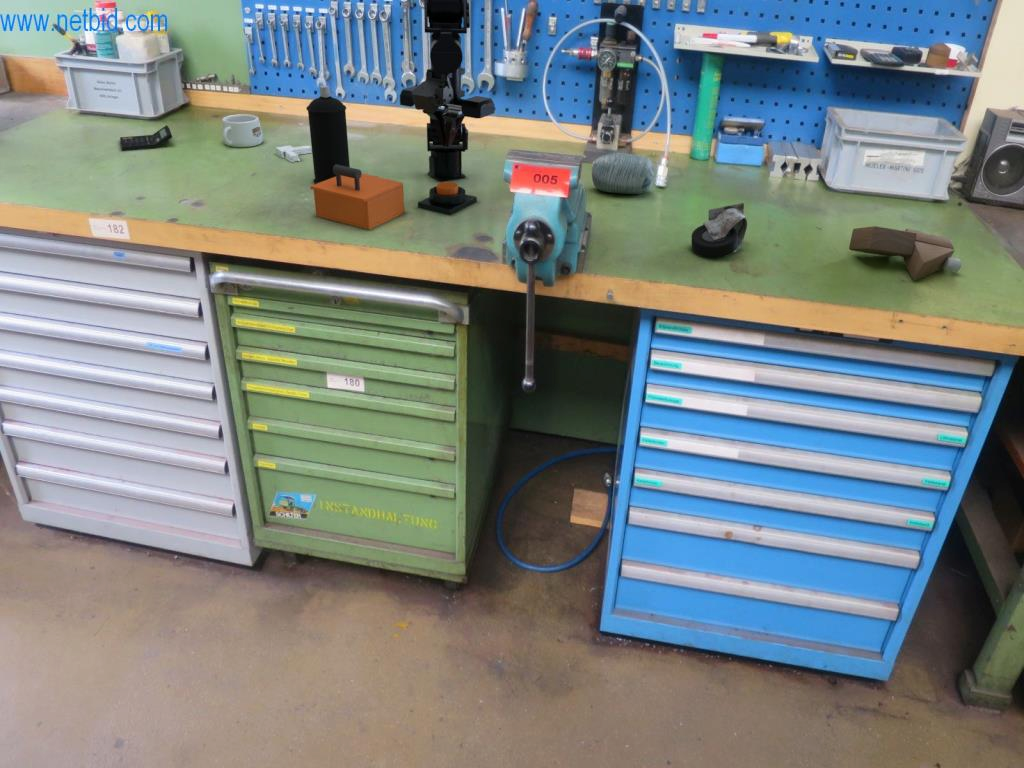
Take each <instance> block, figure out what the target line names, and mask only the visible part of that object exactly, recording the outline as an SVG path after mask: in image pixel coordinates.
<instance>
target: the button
mask: <svg viewBox="0 0 1024 768" xmlns="http://www.w3.org/2000/svg"><path fill="white" fill-rule="evenodd" d="M436 186H437V193H438V194H442V195H454V194H457V193H458V187H459V184H457V183H456V182H452V181H441V182H439V183H437V184H436Z"/></svg>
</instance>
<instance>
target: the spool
mask: <svg viewBox="0 0 1024 768" xmlns="http://www.w3.org/2000/svg"><path fill="white" fill-rule="evenodd" d="M591 180H592V183H593V186H594V187H595V188H596V189H597V190H599V191H601V192H606V193H613V194H624V195H625V194H626V195H627V194H629V195H635V194H636V195H640V194H645V193H647V192H649V190H651V188H652V186H653V185H654V184H653V183H654V180H655V166H654V163H653V161H652V160H651V159H650V158H648V157H646V156H643V155H638V154H633V153H626V152H612V153H611V152H609V153H605V154H603V155H600V156H598V157H597V158H596V159H595V160H594V161H593V163H592V166H591Z"/></svg>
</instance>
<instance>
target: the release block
mask: <svg viewBox="0 0 1024 768" xmlns="http://www.w3.org/2000/svg"><path fill="white" fill-rule="evenodd" d="M477 201H478V197H477V196H476V195H472V194H467V193H466V189H465V188H464V187H462V186H458V193H457V194H454V195H442V194H438V193H437V185H436V186H433V187H431V188H430V189H429V191H428V197H426V198H424V199H422V200H420V201H417V208H418V209H421V210H425V211H430V212H434V213H438V214H443V215H447V216H452V215H454V214H457V213H458V212H460V211H462V210H464V209H466V208H468V207H470V206H472V205H474V204H476V203H477Z"/></svg>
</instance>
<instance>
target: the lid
mask: <svg viewBox="0 0 1024 768" xmlns="http://www.w3.org/2000/svg"><path fill="white" fill-rule="evenodd" d="M333 172H334V174H336V177H333V178H330V179H328V180H325V181H322V182H320V183H317V184H315V183H314V184H312V185H310V186H309V189H310V190H313V191H314V190H317V191H321V192H325V193H329V194H333V195H337V196H341V197H345V198H350V199H354V200H358V201H362V202H366V201H368V200H371V199H373V198H375V197H378V196H380V195H382V194H385V193H387V192H389V191H392V190H394V189H396V188H399V187H401V186H403V187H404V182H402V181H397V180H392V179H389V178H385V177H379V176H375V175H371V174H366V173H362V170H361V169H359V168H354V167H351V166H350V167H346V166H341V165H337V164H336V165H334V167H333Z"/></svg>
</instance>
